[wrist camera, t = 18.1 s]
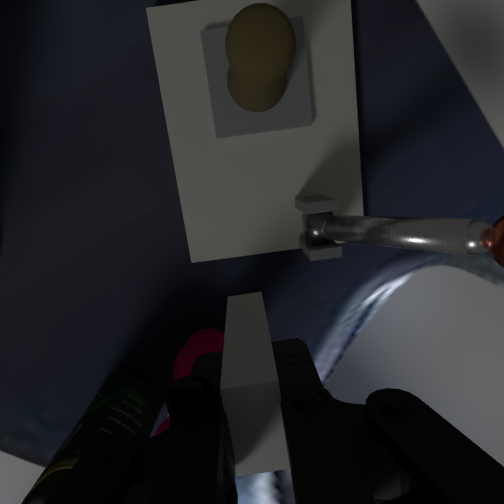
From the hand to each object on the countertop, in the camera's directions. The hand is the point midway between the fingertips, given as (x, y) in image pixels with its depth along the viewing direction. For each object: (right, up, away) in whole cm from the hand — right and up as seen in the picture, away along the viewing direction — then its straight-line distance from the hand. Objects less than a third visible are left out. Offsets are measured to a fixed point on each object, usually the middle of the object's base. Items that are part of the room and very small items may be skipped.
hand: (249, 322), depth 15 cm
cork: (+1, +20, +19) cm, 28 cm away
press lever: (+6, +6, +20) cm, 22 cm away
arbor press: (+2, +15, +23) cm, 27 cm away
